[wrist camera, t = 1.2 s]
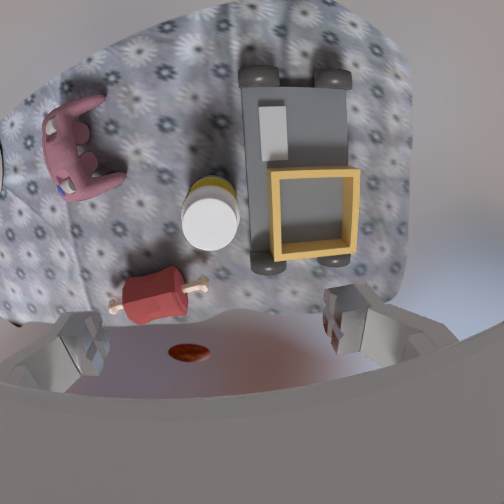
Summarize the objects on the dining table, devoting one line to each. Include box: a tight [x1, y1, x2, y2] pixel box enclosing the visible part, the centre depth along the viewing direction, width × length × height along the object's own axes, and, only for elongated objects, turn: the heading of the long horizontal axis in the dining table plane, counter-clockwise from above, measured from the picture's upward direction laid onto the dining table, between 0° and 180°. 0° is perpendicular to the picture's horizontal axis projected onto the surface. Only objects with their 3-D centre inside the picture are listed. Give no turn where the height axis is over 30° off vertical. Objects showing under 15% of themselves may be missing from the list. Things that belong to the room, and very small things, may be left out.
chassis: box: [238, 65, 360, 275], centre depth 26 cm, size 11×19×4 cm, turn 3°
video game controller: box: [42, 94, 126, 203], centre depth 22 cm, size 10×5×7 cm, turn 13°
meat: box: [108, 265, 210, 325], centre depth 29 cm, size 12×5×5 cm, turn 104°
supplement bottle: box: [181, 175, 240, 251], centre depth 24 cm, size 5×5×8 cm
